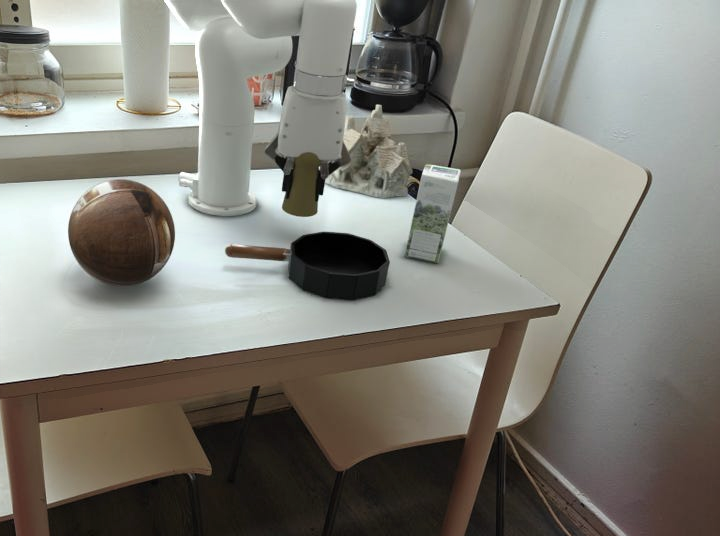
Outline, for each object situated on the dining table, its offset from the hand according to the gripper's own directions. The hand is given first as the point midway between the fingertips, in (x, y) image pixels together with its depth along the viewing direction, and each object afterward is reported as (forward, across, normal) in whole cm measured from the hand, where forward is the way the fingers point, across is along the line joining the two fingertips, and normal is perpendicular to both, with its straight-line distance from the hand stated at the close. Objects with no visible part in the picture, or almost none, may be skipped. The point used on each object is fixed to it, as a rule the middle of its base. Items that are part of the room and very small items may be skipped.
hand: (301, 196), depth 118 cm
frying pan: (+7, -1, +13) cm, 15 cm away
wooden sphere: (+8, +26, +20) cm, 34 cm away
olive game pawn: (+2, 0, 0) cm, 2 cm away
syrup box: (+7, -21, +3) cm, 23 cm away
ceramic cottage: (+8, -15, -29) cm, 33 cm away
